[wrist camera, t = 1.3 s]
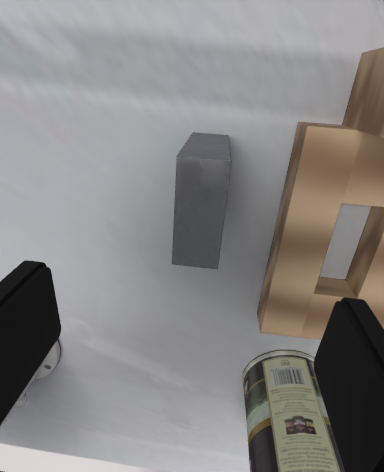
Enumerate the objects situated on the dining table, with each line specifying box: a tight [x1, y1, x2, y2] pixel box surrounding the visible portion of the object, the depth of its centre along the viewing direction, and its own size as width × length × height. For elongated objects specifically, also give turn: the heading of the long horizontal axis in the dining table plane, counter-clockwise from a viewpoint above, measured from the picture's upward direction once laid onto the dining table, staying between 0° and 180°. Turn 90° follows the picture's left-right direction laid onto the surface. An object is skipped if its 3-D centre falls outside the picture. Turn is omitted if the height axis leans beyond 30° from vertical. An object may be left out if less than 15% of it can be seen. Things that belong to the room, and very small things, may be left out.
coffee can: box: [243, 350, 345, 472], centre depth 31 cm, size 10×10×14 cm
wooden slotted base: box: [257, 48, 384, 340], centre depth 21 cm, size 25×12×14 cm, turn 176°
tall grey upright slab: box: [172, 132, 231, 269], centre depth 22 cm, size 7×3×10 cm, turn 176°
